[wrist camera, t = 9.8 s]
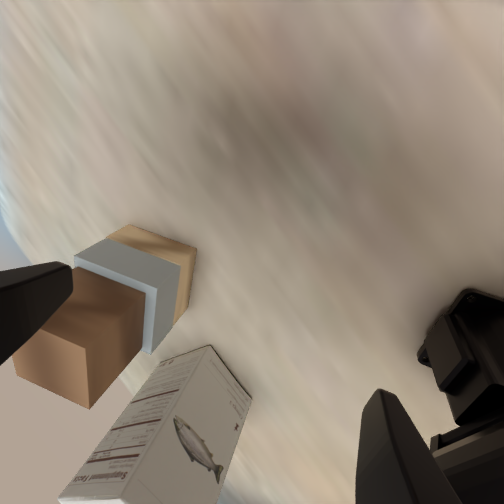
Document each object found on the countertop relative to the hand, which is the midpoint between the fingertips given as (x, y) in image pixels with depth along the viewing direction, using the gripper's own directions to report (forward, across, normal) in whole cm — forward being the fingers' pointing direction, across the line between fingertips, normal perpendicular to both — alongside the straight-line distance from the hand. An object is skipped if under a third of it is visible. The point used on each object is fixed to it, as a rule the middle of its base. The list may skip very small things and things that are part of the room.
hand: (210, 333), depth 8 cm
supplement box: (+13, +3, +20) cm, 24 cm away
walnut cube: (+7, +9, +9) cm, 15 cm away
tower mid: (+10, +9, +9) cm, 16 cm away
